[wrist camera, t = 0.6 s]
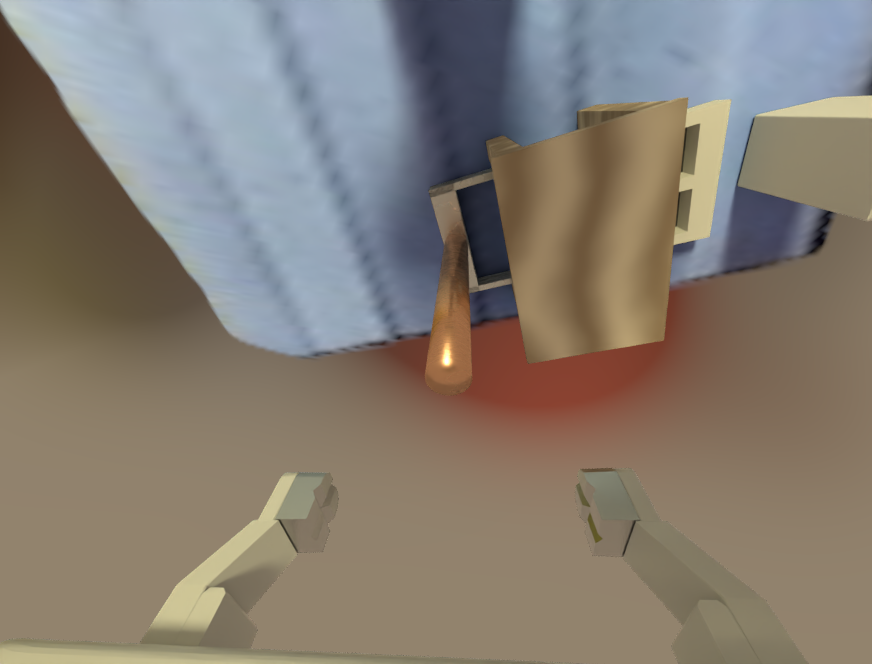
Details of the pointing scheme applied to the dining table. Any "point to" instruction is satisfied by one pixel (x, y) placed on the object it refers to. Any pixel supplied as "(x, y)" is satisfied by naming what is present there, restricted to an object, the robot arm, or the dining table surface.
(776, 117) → the milk carton
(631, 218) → the tunnel
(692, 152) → the pit deck
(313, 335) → the dining table surface
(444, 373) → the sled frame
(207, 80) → the dining table surface
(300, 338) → the dining table surface
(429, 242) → the dining table surface
